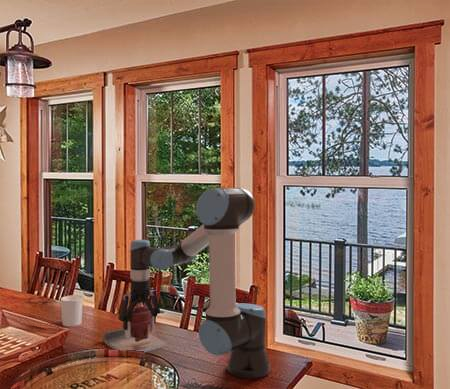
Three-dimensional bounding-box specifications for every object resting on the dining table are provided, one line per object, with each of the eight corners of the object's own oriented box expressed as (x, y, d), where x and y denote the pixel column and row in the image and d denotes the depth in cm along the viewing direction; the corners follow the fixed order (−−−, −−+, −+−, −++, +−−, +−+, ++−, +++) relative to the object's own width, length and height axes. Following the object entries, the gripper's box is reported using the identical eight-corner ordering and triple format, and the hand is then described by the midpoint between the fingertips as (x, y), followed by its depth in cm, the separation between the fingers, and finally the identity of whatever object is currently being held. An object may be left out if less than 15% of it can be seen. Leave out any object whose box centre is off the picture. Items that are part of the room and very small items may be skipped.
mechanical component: (156, 335, 180) (146, 344, 170) (132, 333, 182) (122, 342, 172) (156, 305, 180) (147, 313, 170) (133, 303, 182) (122, 311, 172)
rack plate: (166, 346, 178) (166, 336, 178) (125, 357, 167) (125, 347, 166) (142, 332, 193) (142, 323, 193) (103, 341, 182) (103, 332, 182)
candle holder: (83, 325, 201) (83, 299, 201) (60, 328, 198) (60, 301, 197) (82, 319, 211) (82, 294, 210) (60, 321, 207) (60, 296, 207)
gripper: (159, 273, 185) (159, 326, 186) (109, 281, 171) (109, 338, 172) (169, 277, 179) (169, 331, 180) (117, 285, 165) (117, 343, 166)
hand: (139, 334), depth 176 cm, fingers closed on mechanical component, 10 cm apart
